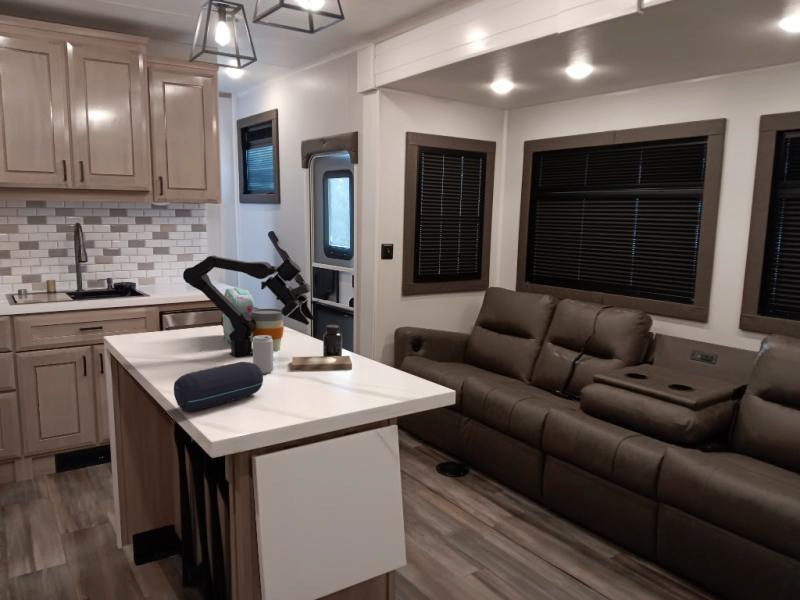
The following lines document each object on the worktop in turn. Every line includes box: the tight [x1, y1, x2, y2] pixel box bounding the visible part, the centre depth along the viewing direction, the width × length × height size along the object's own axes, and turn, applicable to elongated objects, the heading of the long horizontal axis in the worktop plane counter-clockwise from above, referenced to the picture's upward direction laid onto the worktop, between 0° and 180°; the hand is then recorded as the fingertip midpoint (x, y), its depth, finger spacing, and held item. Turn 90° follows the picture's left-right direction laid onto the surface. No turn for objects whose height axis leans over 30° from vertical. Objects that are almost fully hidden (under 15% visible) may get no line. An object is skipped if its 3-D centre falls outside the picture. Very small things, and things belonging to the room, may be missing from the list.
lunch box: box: [220, 286, 255, 344], centre depth 238 cm, size 27×10×21 cm, turn 25°
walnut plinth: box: [291, 355, 353, 371], centre depth 201 cm, size 20×11×2 cm, turn 99°
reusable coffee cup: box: [251, 308, 286, 352], centre depth 222 cm, size 13×13×15 cm
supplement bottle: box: [322, 324, 343, 356], centre depth 211 cm, size 7×7×12 cm
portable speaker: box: [173, 361, 264, 412], centre depth 160 cm, size 25×10×10 cm, turn 141°
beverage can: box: [252, 335, 274, 375], centre depth 191 cm, size 6×6×12 cm
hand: (311, 321), depth 211 cm, fingers open, 9 cm apart
